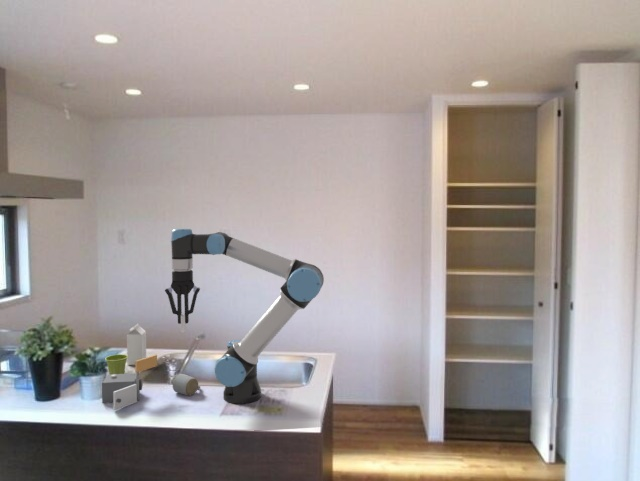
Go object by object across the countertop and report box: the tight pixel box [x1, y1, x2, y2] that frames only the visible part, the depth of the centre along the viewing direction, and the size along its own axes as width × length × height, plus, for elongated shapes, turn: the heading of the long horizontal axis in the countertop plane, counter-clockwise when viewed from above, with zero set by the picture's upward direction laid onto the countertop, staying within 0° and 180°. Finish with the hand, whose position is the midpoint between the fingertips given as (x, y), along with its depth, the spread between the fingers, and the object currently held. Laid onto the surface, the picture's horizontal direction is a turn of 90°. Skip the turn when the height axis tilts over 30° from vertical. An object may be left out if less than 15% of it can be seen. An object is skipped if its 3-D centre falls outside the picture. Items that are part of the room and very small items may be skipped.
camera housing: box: [101, 372, 144, 404], centre depth 202 cm, size 14×10×9 cm
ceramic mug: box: [172, 373, 201, 396], centre depth 208 cm, size 11×8×8 cm
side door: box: [112, 354, 158, 411], centre depth 196 cm, size 20×2×16 cm, turn 150°
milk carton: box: [126, 322, 147, 366], centre depth 246 cm, size 7×7×19 cm
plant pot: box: [104, 354, 128, 375], centre depth 227 cm, size 9×9×9 cm
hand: (183, 331), depth 190 cm, fingers closed
